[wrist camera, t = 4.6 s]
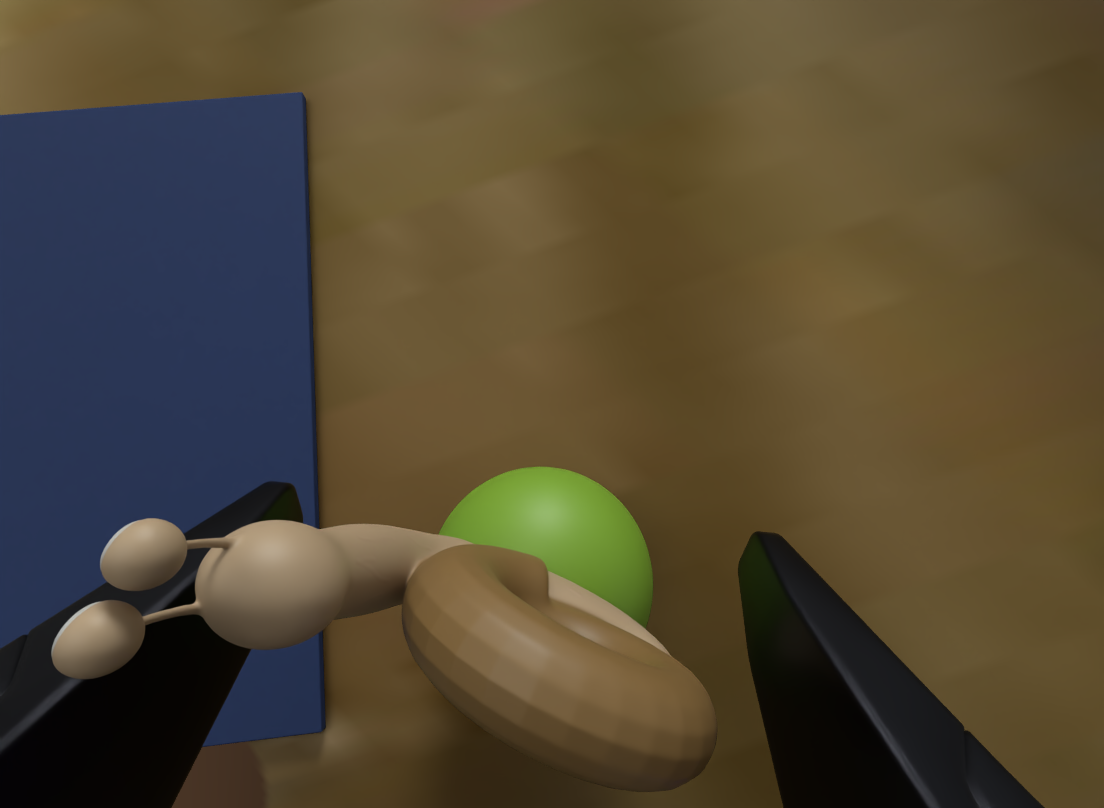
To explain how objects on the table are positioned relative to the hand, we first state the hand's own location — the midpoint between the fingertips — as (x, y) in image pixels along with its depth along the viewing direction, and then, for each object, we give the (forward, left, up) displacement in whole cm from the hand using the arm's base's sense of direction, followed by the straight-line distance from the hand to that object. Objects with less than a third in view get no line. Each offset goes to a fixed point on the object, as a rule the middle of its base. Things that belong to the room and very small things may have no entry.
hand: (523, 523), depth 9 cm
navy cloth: (+5, +12, -7) cm, 15 cm away
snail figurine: (-1, 0, -7) cm, 7 cm away
